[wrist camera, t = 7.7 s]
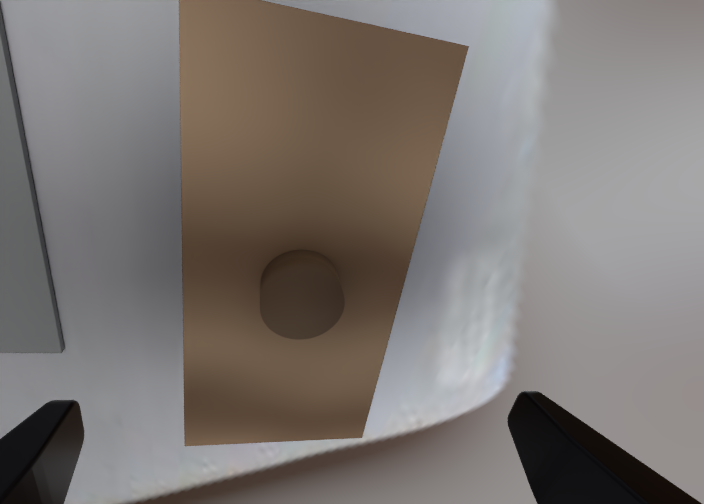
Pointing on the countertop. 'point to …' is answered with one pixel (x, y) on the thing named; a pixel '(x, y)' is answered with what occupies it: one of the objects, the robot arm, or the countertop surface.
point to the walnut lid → (298, 211)
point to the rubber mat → (21, 236)
